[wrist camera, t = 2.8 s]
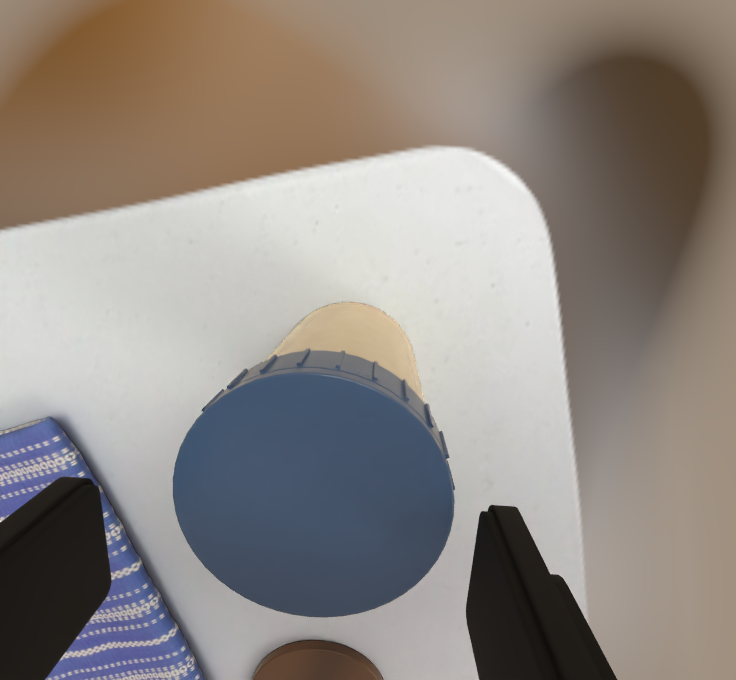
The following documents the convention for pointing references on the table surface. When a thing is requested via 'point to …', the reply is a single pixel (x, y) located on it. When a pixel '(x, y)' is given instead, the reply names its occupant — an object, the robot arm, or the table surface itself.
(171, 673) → the dish towel
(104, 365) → the table surface
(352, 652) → the coaster
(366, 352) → the jar
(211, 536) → the lid
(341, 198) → the table surface
